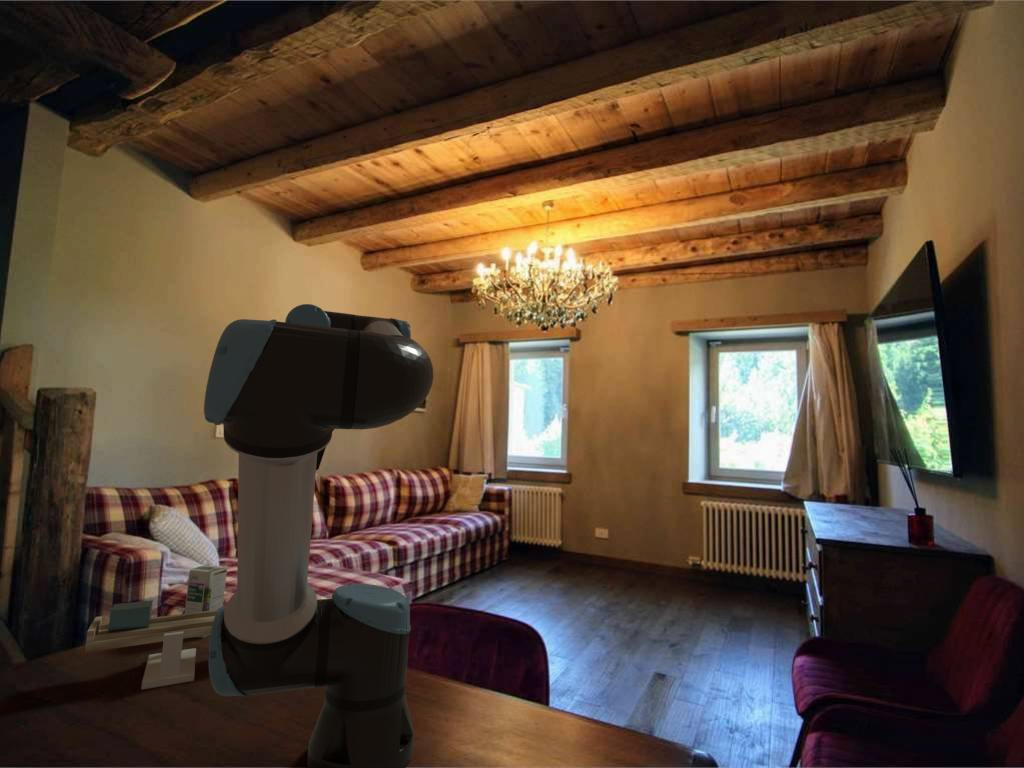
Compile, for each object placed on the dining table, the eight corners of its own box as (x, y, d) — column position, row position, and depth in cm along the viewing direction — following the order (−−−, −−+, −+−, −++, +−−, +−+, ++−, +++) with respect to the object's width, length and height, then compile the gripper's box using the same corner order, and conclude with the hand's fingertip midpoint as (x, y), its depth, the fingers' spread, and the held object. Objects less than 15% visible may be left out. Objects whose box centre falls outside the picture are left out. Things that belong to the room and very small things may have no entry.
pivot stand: (193, 680, 95) (198, 632, 96) (141, 689, 91) (147, 639, 92) (195, 654, 106) (199, 611, 107) (148, 660, 102) (153, 616, 103)
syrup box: (180, 636, 115) (187, 569, 117) (200, 626, 121) (207, 563, 122) (202, 638, 114) (209, 571, 116) (221, 629, 120) (228, 565, 121)
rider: (147, 631, 96) (150, 606, 96) (107, 636, 93) (110, 610, 93) (150, 624, 99) (152, 600, 100) (111, 629, 96) (114, 604, 97)
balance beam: (249, 645, 102) (252, 611, 103) (82, 671, 89) (86, 632, 89) (246, 630, 109) (249, 598, 110) (92, 652, 96) (96, 616, 97)
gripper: (334, 390, 108) (325, 504, 106) (267, 385, 102) (255, 505, 99) (343, 388, 102) (333, 509, 99) (271, 382, 95) (259, 511, 93)
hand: (294, 507), depth 99 cm, fingers closed
